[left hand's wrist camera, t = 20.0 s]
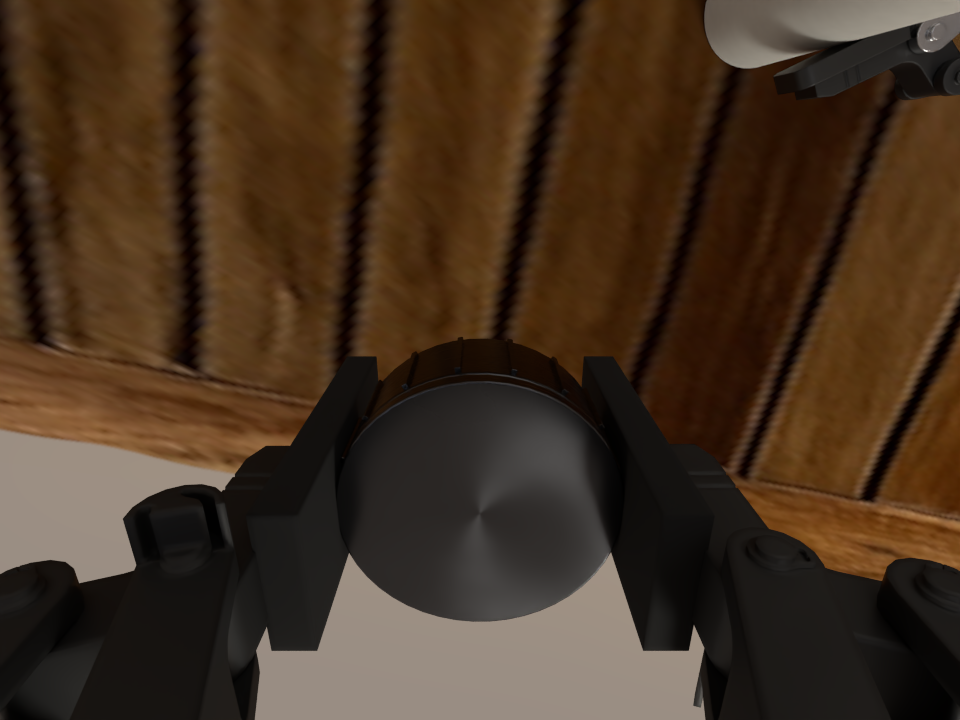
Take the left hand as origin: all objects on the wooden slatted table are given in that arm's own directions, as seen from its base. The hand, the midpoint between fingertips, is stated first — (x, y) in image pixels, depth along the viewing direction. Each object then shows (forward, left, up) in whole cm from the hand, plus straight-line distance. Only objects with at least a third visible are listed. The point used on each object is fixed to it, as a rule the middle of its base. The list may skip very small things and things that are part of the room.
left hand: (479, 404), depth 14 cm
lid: (0, 0, +4) cm, 4 cm away
